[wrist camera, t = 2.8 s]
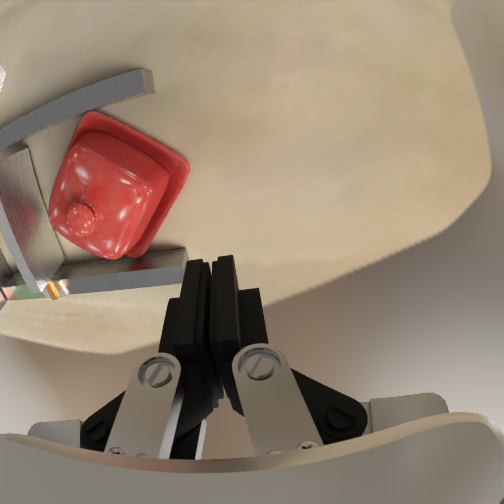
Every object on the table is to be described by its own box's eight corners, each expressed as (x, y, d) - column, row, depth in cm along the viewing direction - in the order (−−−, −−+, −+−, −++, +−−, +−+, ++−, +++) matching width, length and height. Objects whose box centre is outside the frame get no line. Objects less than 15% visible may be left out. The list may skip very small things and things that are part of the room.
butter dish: (92, 103, 19) (38, 114, 12) (198, 161, 24) (185, 195, 16) (53, 205, 24) (8, 247, 17) (143, 256, 28) (121, 313, 21)
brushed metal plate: (18, 152, 20) (-19, 171, 15) (27, 147, 20) (-10, 165, 15) (63, 278, 28) (42, 312, 23) (73, 276, 28) (52, 311, 23)
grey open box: (-42, 162, 18) (-72, 179, 13) (151, 70, 19) (127, 65, 14) (6, 286, 28) (-14, 314, 23) (190, 264, 29) (183, 304, 24)
